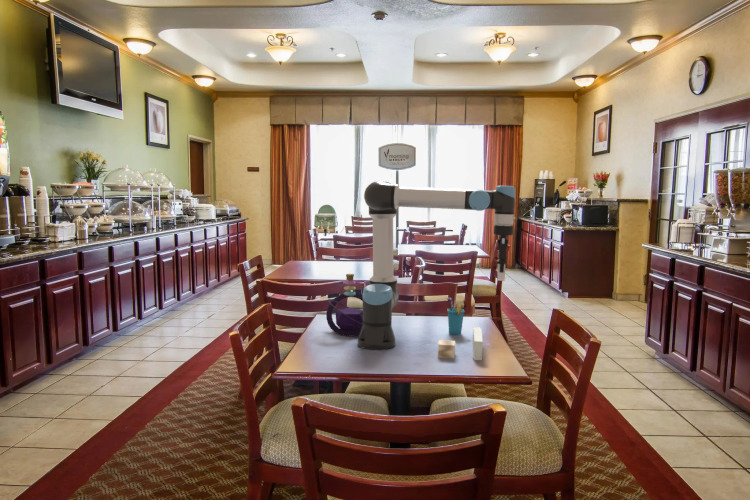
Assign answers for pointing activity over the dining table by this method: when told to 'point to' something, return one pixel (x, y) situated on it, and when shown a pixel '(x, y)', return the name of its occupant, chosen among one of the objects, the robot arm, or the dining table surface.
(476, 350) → the board
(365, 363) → the dining table surface
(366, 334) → the robot arm
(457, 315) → the cup
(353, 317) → the decorative bottle
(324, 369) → the dining table surface
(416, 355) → the dining table surface
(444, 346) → the birch block
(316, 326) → the dining table surface
